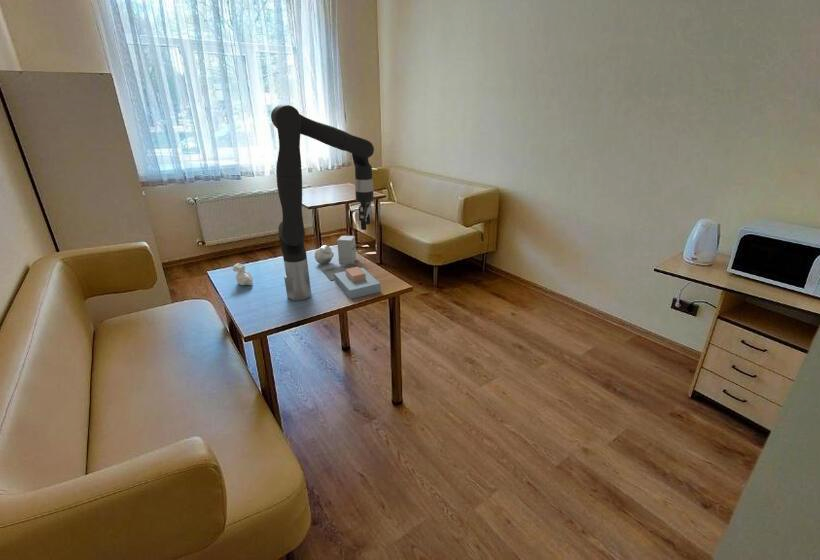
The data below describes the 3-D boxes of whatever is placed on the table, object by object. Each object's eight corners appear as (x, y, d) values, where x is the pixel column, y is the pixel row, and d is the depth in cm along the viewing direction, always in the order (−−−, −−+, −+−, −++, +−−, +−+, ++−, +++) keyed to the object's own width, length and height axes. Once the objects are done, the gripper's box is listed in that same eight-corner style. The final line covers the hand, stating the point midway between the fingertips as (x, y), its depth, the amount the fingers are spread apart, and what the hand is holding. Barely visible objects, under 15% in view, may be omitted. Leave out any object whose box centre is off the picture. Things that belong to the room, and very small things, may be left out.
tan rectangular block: (365, 279, 180) (365, 273, 179) (353, 282, 178) (352, 276, 177) (358, 272, 188) (357, 266, 186) (345, 275, 185) (345, 269, 184)
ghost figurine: (322, 269, 202) (320, 250, 198) (312, 263, 209) (310, 245, 205) (337, 264, 208) (336, 245, 204) (327, 259, 214) (325, 241, 210)
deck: (380, 291, 178) (380, 283, 177) (350, 298, 173) (349, 290, 171) (363, 275, 195) (362, 267, 193) (334, 281, 189) (334, 273, 187)
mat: (365, 273, 196) (365, 273, 196) (330, 281, 189) (330, 280, 189) (354, 263, 208) (354, 263, 208) (321, 270, 201) (321, 270, 200)
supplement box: (352, 264, 207) (351, 240, 202) (338, 263, 209) (336, 239, 203) (356, 258, 214) (355, 235, 209) (343, 258, 215) (341, 235, 210)
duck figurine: (241, 283, 193) (222, 269, 186) (253, 271, 195) (234, 257, 187) (249, 292, 185) (229, 278, 177) (261, 279, 186) (241, 265, 178)
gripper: (369, 193, 165) (371, 232, 172) (376, 186, 178) (377, 222, 185) (351, 192, 166) (353, 231, 173) (359, 185, 179) (360, 222, 186)
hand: (365, 226), depth 179 cm, fingers open, 8 cm apart
